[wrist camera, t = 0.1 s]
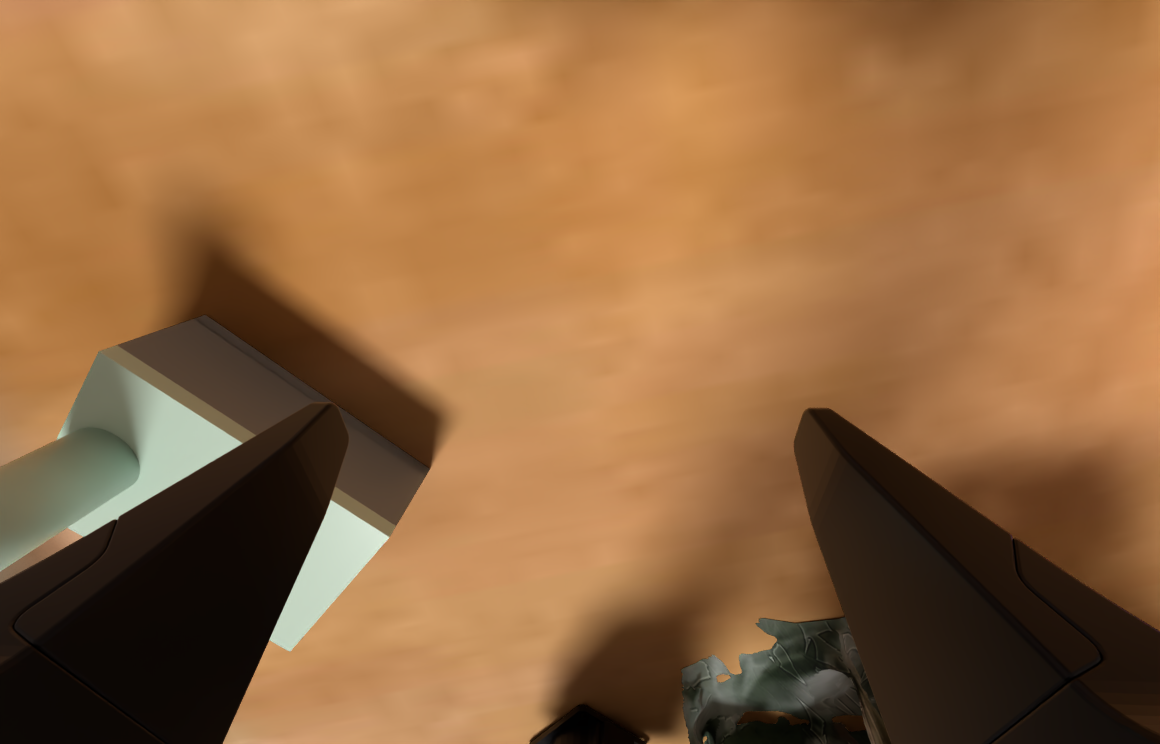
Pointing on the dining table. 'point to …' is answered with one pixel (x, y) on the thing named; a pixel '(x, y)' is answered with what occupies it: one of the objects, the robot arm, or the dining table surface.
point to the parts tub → (276, 406)
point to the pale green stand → (160, 479)
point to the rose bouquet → (785, 690)
